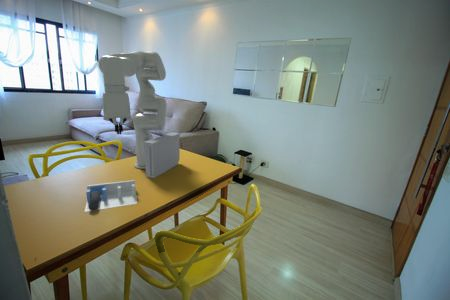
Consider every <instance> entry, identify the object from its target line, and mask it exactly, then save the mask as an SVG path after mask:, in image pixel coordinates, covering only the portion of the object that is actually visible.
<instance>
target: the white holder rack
mask: <svg viewBox="0 0 450 300" xmlns="http://www.w3.org/2000/svg"><path fill="white" fill-rule="evenodd" d="M86 187H87V188H86V192H85V193H86V205H85V208H84V213H86V212H92V211H94V212H95V211H99V210H105V209H113V208H117V207H119V208H120V207H125V206H131V205H132V206H133V205H137V204H138V199H137V198H138V197H137V191H136V180H135V179H132V180H131V179H130V180H122V181H115V182H105V183H104V182H103V183H96V184H89V185H86ZM93 191H99V192H100V198H99V205H98V208H97V209H96V210H90V209H89V203H90V198H91V194H92V192H93Z"/></svg>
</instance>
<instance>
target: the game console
mask: <svg viewBox="0 0 450 300" xmlns="http://www.w3.org/2000/svg"><path fill="white" fill-rule="evenodd" d="M180 137H181V134H180V133H179V132H174V131H173V132H168V133H165V134H163V135H161V136H158V137H157V136H156V137H153V139H151V140H148V141H145V164H146V169H145V177H146V178H151V179H155V178H157V177H159V176H160V175H162V174H164V173H166V172H167V171H170V170H171V169H172V168H174V167H176V166H177V165H179V162H180V154H181V153H180V151H181V150H180V149H181V148H180V146H181V145H180V143H181V142H180V141H181V140H180V139H181V138H180Z"/></svg>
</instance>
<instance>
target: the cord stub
mask: <svg viewBox="0 0 450 300" xmlns="http://www.w3.org/2000/svg"><path fill="white" fill-rule="evenodd" d="M99 198H100V192H99V191H93V192H92V194H91V198H90V203H89V209H90V210H94V211H97V210H96V209H97V208H98V205H99Z"/></svg>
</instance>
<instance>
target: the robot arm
mask: <svg viewBox="0 0 450 300" xmlns="http://www.w3.org/2000/svg"><path fill="white" fill-rule="evenodd" d="M164 65H165V64H164V62H163V60H162V58H161V56H160V54H159V53H158V52H156V51H147V50H135V51H132V52H122V53H112V54H106V55H102V56H101V57H100V58H99V61H98V68H99V71H100V72H101V73H102V76H103V86H104V91H103V93H102V111H103V112H102V113H103V121H106V122H107V121H108V122H109V123H111V124H113V125H114V133H116V134H117V135H122V133H123V132H124V128H123V124H124V123H126V122H127V121H131V120H132V123H133V127H134V128H133V129H134V134H135V147H136V148H135V150H136V153H135V154H136V162H134V164H133V165H134V168H137V169H140V170H146V164H145V141H148V140H151V139H154V137H153V135H152V133H151V131H153V132H162V131H163V130H164V129H165V126H166V117H167V107H168V106H167V101H166V99H165V98H164V97H162V96H155V95H156V90H155V89H156V88H155V87H154V85H153V84H152V83H151V82H150V81H159V82H161V81H164V80H165V79H166V75H167V73H166V67H165V66H164ZM133 76H135V77H136V80H137V83H138V86H139V93H138V105H137V108H138V110H139V111H140V112H142V113H136V114H135V115H134V116H133V118H132V115H131V103H130V97H129V93H128V91H130V87H129V86H126V80H125V78H126V77H129V78H130V77H133ZM117 119H119V122H118V121H117Z"/></svg>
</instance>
